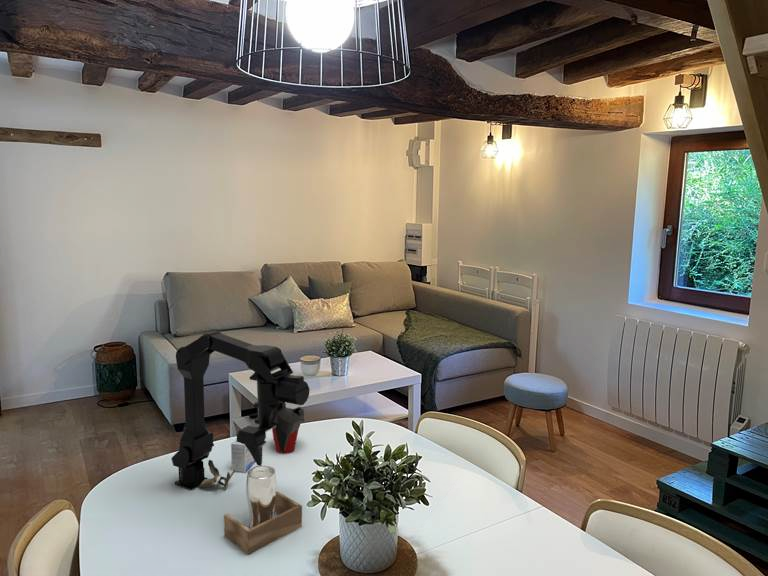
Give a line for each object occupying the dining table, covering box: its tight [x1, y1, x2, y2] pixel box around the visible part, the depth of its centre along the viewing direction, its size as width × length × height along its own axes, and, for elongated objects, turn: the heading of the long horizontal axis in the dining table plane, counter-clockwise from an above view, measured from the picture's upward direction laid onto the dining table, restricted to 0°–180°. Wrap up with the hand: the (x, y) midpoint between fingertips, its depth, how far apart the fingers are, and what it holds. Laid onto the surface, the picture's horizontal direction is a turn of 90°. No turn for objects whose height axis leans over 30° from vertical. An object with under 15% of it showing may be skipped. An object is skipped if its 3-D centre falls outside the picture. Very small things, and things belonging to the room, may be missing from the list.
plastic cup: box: [271, 428, 299, 454], centre depth 182 cm, size 11×11×12 cm
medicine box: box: [230, 438, 256, 473], centre depth 171 cm, size 8×4×9 cm, turn 168°
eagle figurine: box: [197, 459, 236, 491], centre depth 159 cm, size 8×7×9 cm
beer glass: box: [245, 465, 277, 529], centre depth 139 cm, size 7×7×15 cm
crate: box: [223, 490, 303, 555], centre depth 139 cm, size 10×15×6 cm, turn 138°
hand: (271, 457), depth 146 cm, fingers open, 9 cm apart
